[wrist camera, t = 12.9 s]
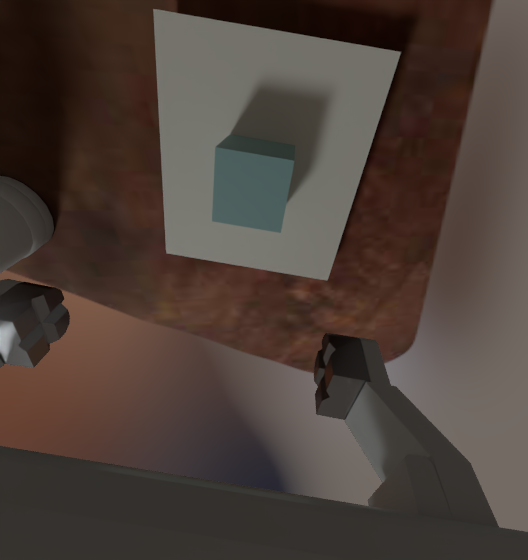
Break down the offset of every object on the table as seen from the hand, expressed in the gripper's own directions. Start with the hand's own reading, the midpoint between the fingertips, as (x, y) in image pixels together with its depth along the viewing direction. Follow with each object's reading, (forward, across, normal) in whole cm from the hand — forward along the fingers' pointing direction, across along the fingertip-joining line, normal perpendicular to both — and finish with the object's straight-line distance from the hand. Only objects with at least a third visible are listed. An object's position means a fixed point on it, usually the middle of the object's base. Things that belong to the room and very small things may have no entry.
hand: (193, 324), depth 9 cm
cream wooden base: (+21, 0, 0) cm, 21 cm away
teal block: (+18, 0, 0) cm, 18 cm away
